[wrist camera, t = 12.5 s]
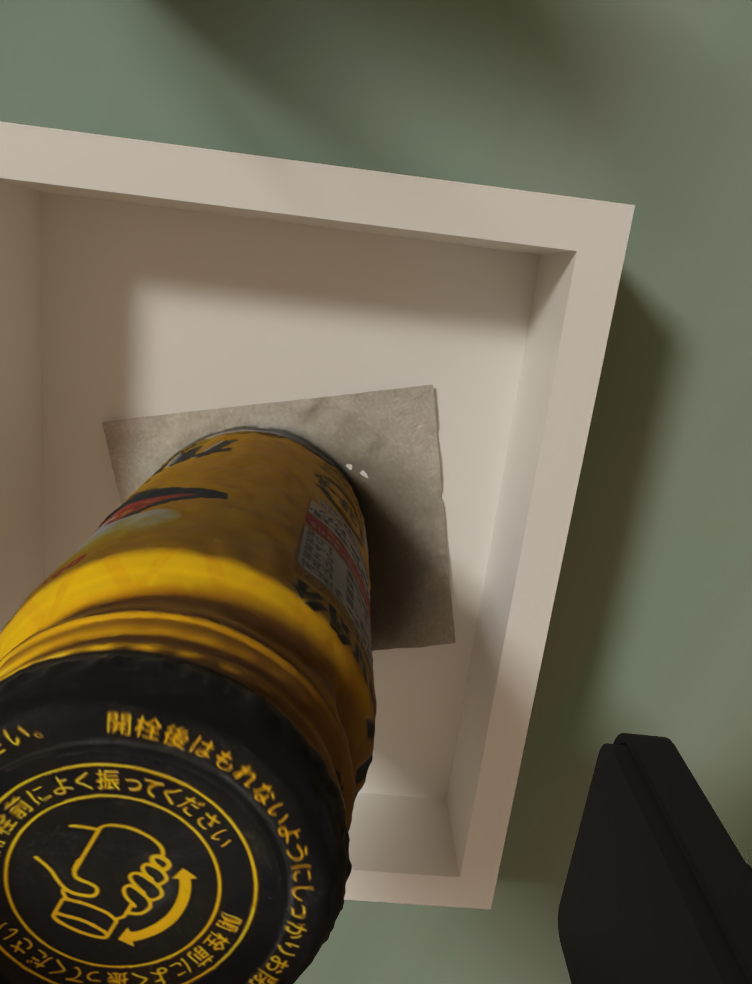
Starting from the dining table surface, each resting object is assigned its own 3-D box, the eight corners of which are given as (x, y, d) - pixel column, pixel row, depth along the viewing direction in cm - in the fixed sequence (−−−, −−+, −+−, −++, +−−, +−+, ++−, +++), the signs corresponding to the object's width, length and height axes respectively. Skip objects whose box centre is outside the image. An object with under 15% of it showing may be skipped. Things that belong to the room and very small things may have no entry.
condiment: (104, 420, 19) (-304, 657, 7) (432, 383, 18) (560, 560, 7) (159, 670, 21) (-84, 1166, 9) (454, 637, 21) (580, 1093, 9)
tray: (13, 146, 18) (-82, 110, 14) (576, 220, 18) (634, 205, 15) (28, 772, 23) (-39, 873, 19) (468, 805, 23) (491, 909, 20)
